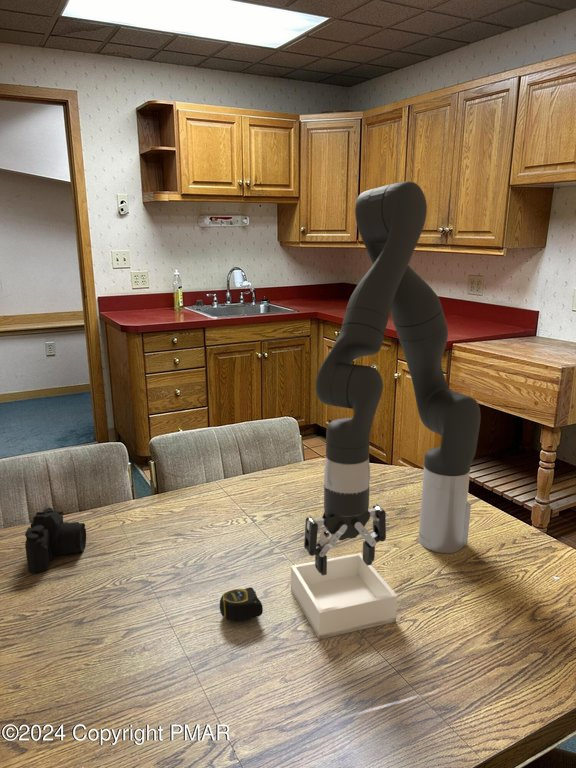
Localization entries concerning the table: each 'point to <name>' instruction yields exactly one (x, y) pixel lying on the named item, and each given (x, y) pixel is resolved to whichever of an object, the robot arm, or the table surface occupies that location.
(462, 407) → the robot arm
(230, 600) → the tape measure
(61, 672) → the table surface
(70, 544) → the film camera
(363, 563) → the bin
